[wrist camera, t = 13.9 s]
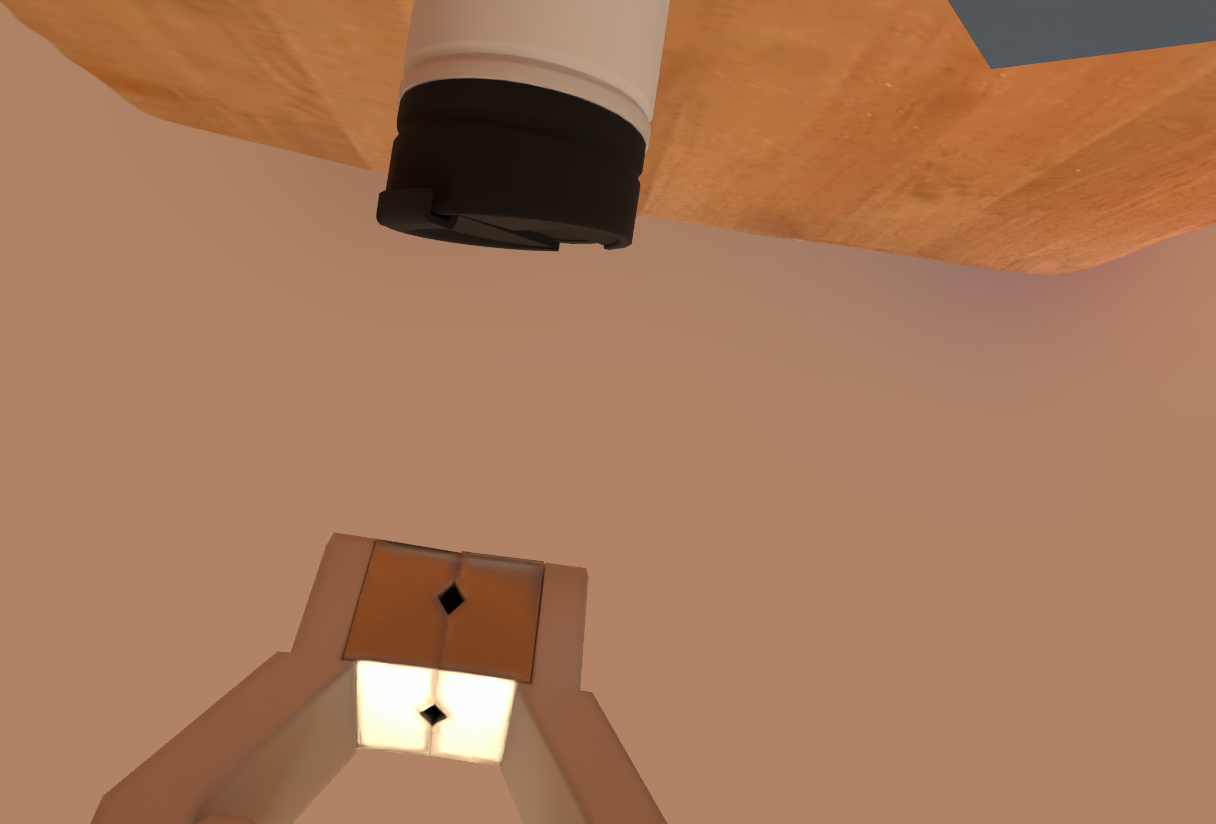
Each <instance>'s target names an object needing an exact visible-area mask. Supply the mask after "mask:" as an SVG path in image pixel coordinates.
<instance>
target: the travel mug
mask: <svg viewBox="0 0 1216 824" xmlns="http://www.w3.org/2000/svg"><path fill="white" fill-rule="evenodd" d="M669 3H670V0H414V2H413V9H412V15H411V21H410V27H409V33H408V40H407V46H406V52H405V58H404V75H405V76H404V78H403V80H402V81H401V83H400V89H399V95H398V106H399V110H398V117H397V130H398V133H399V134H398V136H397V137H396V138H395V140H394V142H393V148H392V154H391V160H390V167H389V173H388V180H387V186H386V190H385V191H383V192H381V193H379V200H378V207H377V214H376V218H377V221H378V222H379V223H380V225H383V226H386V227H388V228H390V229H393V230H396V231H399V232H403V233H406V234H410V235H414V236H419V237H423V238H428V239H434V240H440V241H446V242H453V243H460V244H468V245H475V246H485V247H494V248H504V249H517V250H534V251H558V250H559V244H560V243H570V244H592V243H599V244H601V245H604V249H608V250H610V249H617V248H625V247H627V246H629V245H631V244H632V237H633V231H634V224H635V217H636V211H637V204H638V198H639V191H640V182H639V180H638V177H639V176H640V175H641V173H642V171H643V164H644V157H645V153H646V152H647V151H648V145H649V138H650V132H651V126H650V124H649V122H650V121H651V120H652V118H653V111H654V105H655V98H656V91H657V84H658V78H659V71H660V64H661V57H662V50H663V44H664V37H665V30H666V23H667V17H668V10H669Z"/></svg>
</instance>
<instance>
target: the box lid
mask: <svg viewBox="0 0 1216 824" xmlns="http://www.w3.org/2000/svg"><path fill="white" fill-rule="evenodd" d="M948 1H949V3H950V4H951V6H952V7H953V9H954V11H955V12H956V14H957V15H958V17H959V18H960V20H961V22H962V23H963V25H964V26H965V28H966V30H967V31H968V33H969V34H970V36H971V38H972V39H973V41H974V42H975V44H976V46H977V47H978V49H979V50H980V52H981V54H982V55H983V57H984V58H985V60H986V62H987V63H988V65H989V66H990V68H991V69H996V68H1003V67H1011V66H1019V65H1027V64H1035V63H1043V62H1051V61H1059V60H1067V59H1075V58H1082V57H1090V56H1098V55H1106V54H1114V53H1122V52H1130V51H1138V50H1146V49H1154V48H1161V47H1169V46H1177V45H1185V44H1193V43H1201V42H1209V41H1216V0H948Z"/></svg>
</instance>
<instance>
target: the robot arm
mask: <svg viewBox="0 0 1216 824" xmlns="http://www.w3.org/2000/svg"><path fill="white" fill-rule="evenodd" d="M587 587H588V574H587V570H586V568H581V567H573V566H565V565H558V564H550V563H545V564H544V562H543V561H536V560H528V559H520V558H512V557H504V556H495V555H488V554H480V553H472V552H464V551H462V552H461V553H458V552H452V551H446V550H440V549H434V548H428V547H422V546H416V545H410V544H404V543H398V542H392V541H386V540H380V539H374V538H367V537H361V536H354V535H346V534H340V533H333V535H332V537H331V538H330V540H329V542H328V543H327V545H326V548H325V551H324V554H323V557H322V560H321V563H320V566H319V569H318V572H317V575H316V578H315V581H314V584H313V587H312V590H311V594H310V596H309V599H308V602H307V605H306V608H305V611H304V614H303V617H302V620H301V623H300V626H299V629H298V632H297V635H296V638H295V641H294V645H293V647H292V650H291V653H287V652H276V653H275V654H274V655H273V656H272V657H270V658H269V659H268V660H267V661H266V662H264V663H263V664H262V665H261V666H260V667H258V668H257V669H256V670H255V671H253V672H252V673H251V674H250V675H249V676H247V677H246V678H245V679H244V680H243V681H241V682H240V683H239V684H238V685H237V686H235V687H234V688H233V689H232V690H231V691H229V692H228V693H227V694H226V695H225V696H223V697H222V698H221V699H220V700H219V701H217V702H216V703H215V704H214V705H212V706H211V707H210V708H209V709H208V710H206V711H205V712H204V713H203V714H202V715H201V716H199V717H198V718H197V719H196V720H194V721H193V722H192V723H191V724H190V725H188V726H187V727H186V728H185V729H183V731H181V732H180V733H179V734H177V735H176V736H175V737H174V738H173V739H171V740H170V741H169V742H168V743H167V744H165V745H164V746H163V747H162V748H160V749H159V750H158V751H157V752H156V753H154V754H153V755H152V756H151V757H150V758H148V759H147V760H146V761H145V762H144V763H142V764H141V765H140V766H139V767H138V768H137V769H135V770H134V771H133V772H131V773H130V774H129V775H128V776H127V777H126V778H124V779H123V780H122V781H121V782H119V783H118V784H117V785H116V786H115V787H113V788H112V789H111V790H110V791H109V792H107V793H106V794H105V795H104V796H103V797H102V799H101V801H100V804H99V806H98V808H97V810H96V813H95V815H94V817H93V819H92V822H91V824H293V823H294V821H295V820H296V819H297V818H298V817H299V816H300V815H301V814H302V813H303V811H304V810H305V809H306V808H307V807H308V806H309V805H310V804H311V803H312V801H313V800H314V799H315V798H316V797H317V796H318V795H319V794H320V793H321V792H322V790H323V789H324V788H325V787H326V786H327V785H328V784H329V783H330V782H331V780H332V779H333V778H334V777H335V776H336V775H337V774H338V773H339V771H341V769H342V768H343V767H344V766H345V765H346V764H347V763H348V762H349V761H350V760H351V758H352V757H353V756H354V755H355V754H356V748H360V749H370V750H380V751H391V752H402V753H412V754H422V755H431V756H438V757H444V758H452V759H458V760H464V761H472V762H478V763H485V764H491V765H499V766H501V771H502V774H503V776H504V779H505V781H506V783H507V786H508V788H509V791H510V793H511V795H512V798H513V800H514V803H515V805H516V807H517V810H518V812H519V814H520V817H521V820H522V822H523V824H667V822H666V820H665V819H664V817H663V815H662V814H661V812H660V810H659V808H658V806H657V805H656V803H655V801H654V800H653V798H652V796H651V794H650V793H649V791H648V789H647V787H646V786H645V784H644V782H643V780H642V779H641V777H640V775H639V773H638V772H637V770H636V768H635V766H634V765H633V763H632V761H631V759H630V758H629V756H628V754H627V752H626V751H625V749H624V747H623V746H622V744H621V742H620V740H619V738H618V737H617V735H616V733H615V731H614V730H613V728H612V726H611V724H610V723H609V721H608V719H607V717H606V716H605V714H604V712H603V710H602V709H601V707H600V705H599V703H598V702H597V700H596V699H595V696H594V695H593V693H592V692H586V691H580V684H581V669H582V656H583V641H584V628H585V615H586V601H587Z"/></svg>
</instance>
